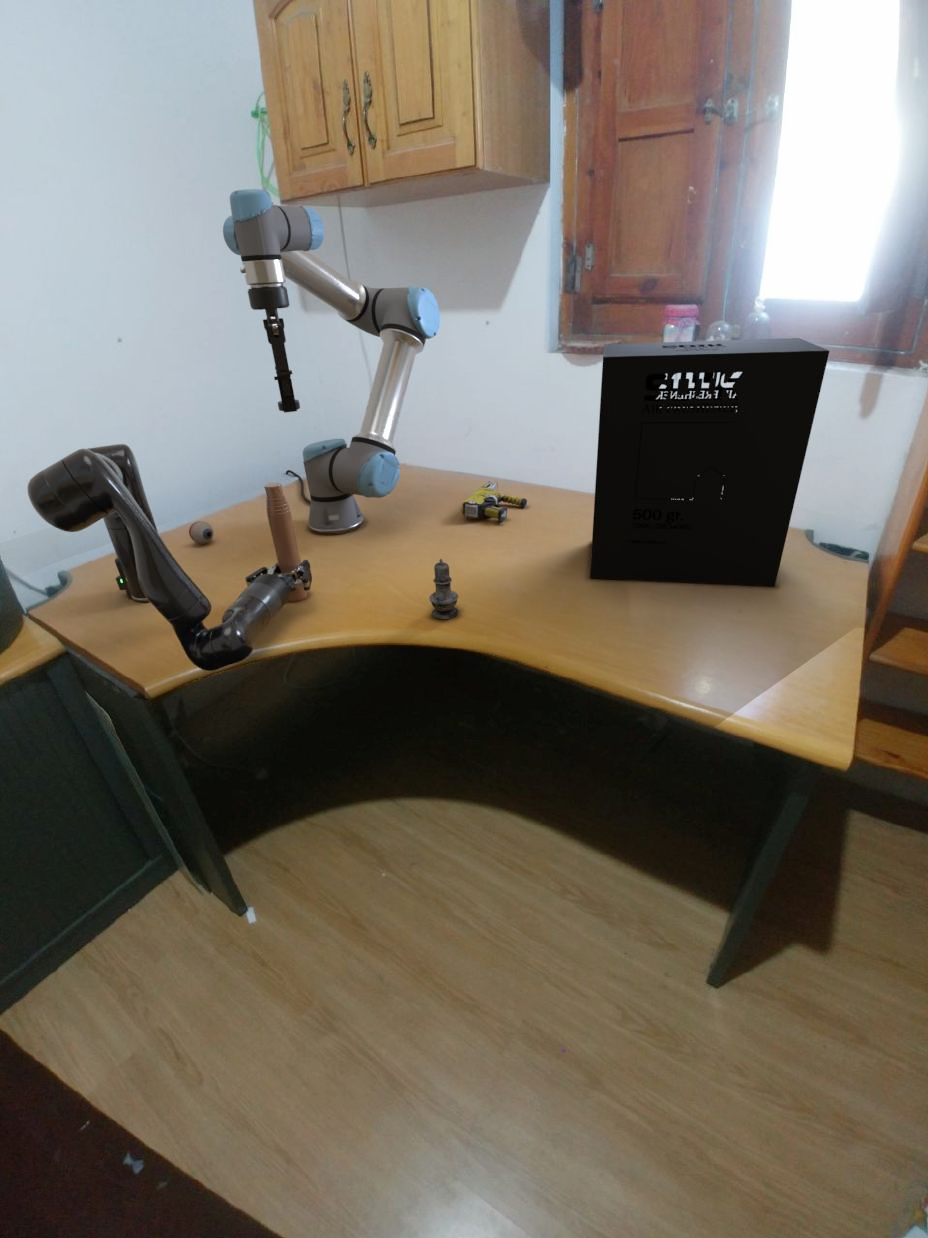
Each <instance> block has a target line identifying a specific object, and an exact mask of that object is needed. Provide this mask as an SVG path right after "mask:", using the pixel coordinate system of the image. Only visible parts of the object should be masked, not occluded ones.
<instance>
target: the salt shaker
mask: <svg viewBox="0 0 928 1238" xmlns="http://www.w3.org/2000/svg"><path fill="white" fill-rule="evenodd" d="M438 561H439V562H437V563H435V564H434V568H433V570H434V578H433V580H432V581H433V583H434V587H435V591H434V592H432V593H431V594H430V595H429V597H428V600H429V601H430V603H431V605H432V607H433V608H434V609H433V610H432V611H431V615H432V616H433V618H436V619H439V620H448V619H452V618H454V617H456V616H457V615H458V614H459V610H458V608H457V607H456V605H457V603H458V600H459V594H458V592H456V591H453V590H452V587H451V586H452V585H451V582H452V577H450V566H449V563H447V562H444V560H443V559H442V558H440V559H439V560H438Z"/></svg>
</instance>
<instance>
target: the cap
mask: <svg viewBox="0 0 928 1238" xmlns="http://www.w3.org/2000/svg"><path fill="white" fill-rule="evenodd" d="M295 403H296V408H297V410H300V409H301V405H300V404H301V403H300V401H299V399H295ZM277 406H278V411H280V412H284V410H283V405H282V400H280V401H278V402H277Z"/></svg>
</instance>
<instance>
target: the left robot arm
mask: <svg viewBox="0 0 928 1238" xmlns="http://www.w3.org/2000/svg"><path fill="white" fill-rule="evenodd" d="M27 496H28V499H29V501H30V503H31V504H30V505H32V507H33V509H34V510H35V512H36V513H37V514H38V515H39V516H40V517H41V518H42V519H43V520H44V522H46V523H47V524H49V525H51V526H52V527H54V528H56V529H58V530H60V531H64V532H67V533H76V532H81V531H83V530H85V529H87V528H89V527H90V526H92V525H94V524H95V523H97V522H98V521H100V520H102V519H103V523H104V525H105V528H106V530H107V534H108V535H109V538H110V541H111V544H112V546H113V549H114V552H115V554H116V558H115V559H114V563H115V566H116V569H117V571H118V574H119V575H117V576H116V577H115V581H116V583H117V586H118V589H119V590H120V591H125V593H126V595H127V598H128V599H132V600H133V601H134V602H138V603H150V604H151V605H152V606H153V608H155V609H156V611H158V613H160V615H161V616H162V617H163V618H164V619H165V621H167V622H168V623H169V624H170V625H171V627H172V629H173V632H174V633H175V636H176V638H177V640H178V641H179V643H180V645H181V647H182V649H183V651H184V654H185V655H186V657H187V658H188V660H189V661H190V662H191V663H192V664H193V665H194V666H195V667H197V668H199V669H200V670H204V671H207V672H212V671H217V670H219V669H222V668H226V667H228V666H231V665H234V664H237V663H239V662H242V661H243V660H246V658H248V657H249V656H250V655H251V654H252V652H253V651H254V649H255V647H256V644H257V642H258V638H259V636H260V635H259V634H260V633H261V632H262V631H263V629H264V628H265V627H266V626H267V624H268V623H270V622H271V621H272V620H274V618H275V617H276V616H277V614H279V612H280V611H281V610H282V609H283V608H284V607H285V605H286V603H287V602H289V601H288V599H289V596H290V593H291V592H293V591H295V590H296V588H304V590H305V591H307V592H308V591H310V590H311V586H312V581H313V575H312V571H311V564H310V561H309V560H308V559H303V560H302V561H301V564H300V565H299V566H298V567H297V568H296V569H290V570H288V571H287V572H285V573H281V574H280V569H279V565H278V561H277V562H276V563H275V564H274V565H271V566H270V567H269V568H267V566H262V567H260V568H259V569H257V570H256V571H254V572H252V573H251V574H249V575H247V576H246V577H245V578H244V579H245V582H246V587H245V589H243V590H242V592H241V593H240V594H239V596H238V597H237V598H236V599H235V601H234V602H233V603H232V604H231V605H230V606H229V607H227V609H226V611H224V613H223V615H222V617H221V624H217V625H215V626H213V627H210V628H207V627H206V626H205V623H204V622H203V621H205V619H207V618H208V616H209V615H210V613H211V612H212V607H213V606H212V603H211V602H210V600H209V598H208V597H207V596H206V595H205V594H204V593H203V591H202V590H201V589H200V588H199V587H198V585H197V584H196V583H195V582H194V580H192V578H191V576H189V575H188V574H187V572H185V570H184V569H183V568H182V567H181V564H179V563H178V561H177V560H176V558H175V557H174V555H173V554H172V553H171V550H169V548H168V547H167V544H165V543H164V541H163V539H162V537H161V536H160V534H159V532H158V531H159V530H158V529H157V525H156V522H155V519H154V515H153V512H152V510H151V508H150V504H149V501H148V499H147V494H146V492H145V488H144V485H143V481H142V478H141V473H140V469H139V466H138V462H137V460H136V457H135V454H134V452H133V450H132V449H131V448H130V446H128V445H127V444H125V443H118V444H109V445H102V446H95V447H88V448H80V449H77V450H75V451H73V452H71V453H70V454H68V455H66V456H64V457H63V458H62V459H59V460H58V461H56V462H55V463H53V464H51V465H49V466H48V467H46V468H44V469H43V470H41V471H39V472H37V473H36V474H34V476H32V477H31V478H30V479H29V481H28V484H27ZM298 573H299V576H298Z"/></svg>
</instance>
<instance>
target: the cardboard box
mask: <svg viewBox="0 0 928 1238" xmlns="http://www.w3.org/2000/svg"><path fill="white" fill-rule="evenodd" d="M829 356H830V350H829V349H827V348H824V347H822V346H819V345H817V344H815V343H813V342H809V341H808V340H804V339H802V338H799V337H787V338H786V337H785V338H756V339H755V338H753V339H751V338H750V339H724V340H691V341H689V340H688V341H661V342H631V343H604V344H603V353H602V368H601V385H600V386H601V387H600V399H599V400H600V402H599V416H598V417H599V419H598V434H597V436H598V437H597V452H596V467H595V468H596V470H595V487H594V502H593V503H594V504H593V521H592V535H591V536H592V538H591V554H590V569H589V571H590V572H589V578H590V579H600V580H625V581H647V582H665V583H666V582H667V583H668V582H669V583H688V584H689V583H691V584H692V583H693V584H714V585H735V586H755V587H756V586H757V587H759V586H760V587H776V583H777V579H778V575H779V572H780V571H779V570H780V566H781V562H782V557H783V553H784V549H785V545H786V541H787V536H788V532H789V528H790V523H791V519H792V514H793V510H794V506H795V502H796V497H797V493H798V489H799V485H800V480H801V475H802V473H803V472H802V471H803V467H804V464H805V457H806V454H807V449H808V446H809V441H810V437H811V433H812V428H813V425H814V419H815V415H816V411H817V407H818V403H819V398H820V395H821V390H822V385H823V381H824V376H825V373H826V368H827V363H828V360H829ZM735 373H740V374H739V376H738V377H733V375H734V374H735ZM676 374H680V378H678V381H677V387H674V386H675V385H674V384H675V378H673V377H674V375H676ZM687 374H692V378H691V384H694V385H693V387H689V385H690V378H687ZM701 374H703V378H700V376H701ZM718 374H719V378H718ZM722 377H723V382H722ZM717 379H718V383H717ZM722 383H723V384H727V383H729V384H731V383H733V384H732V387H731V386H730V387H726V386H725V387H724V386H723V385H722ZM703 384H708V387H702V385H703ZM662 386H665V387H664V388H663V387H662ZM661 387H662V388H661Z"/></svg>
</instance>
